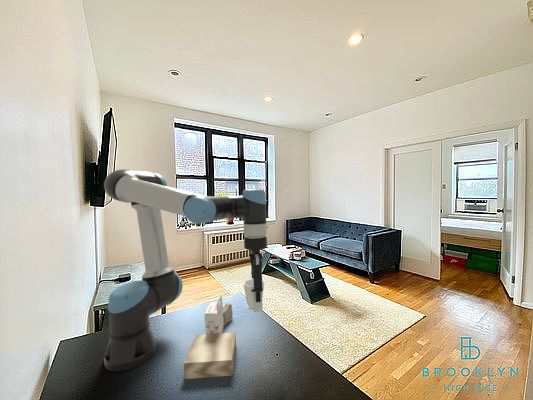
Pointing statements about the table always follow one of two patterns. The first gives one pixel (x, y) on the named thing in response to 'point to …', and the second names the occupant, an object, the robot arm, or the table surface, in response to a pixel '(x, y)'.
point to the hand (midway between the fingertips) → (256, 303)
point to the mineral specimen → (227, 314)
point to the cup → (250, 292)
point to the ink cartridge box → (214, 317)
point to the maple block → (210, 356)
